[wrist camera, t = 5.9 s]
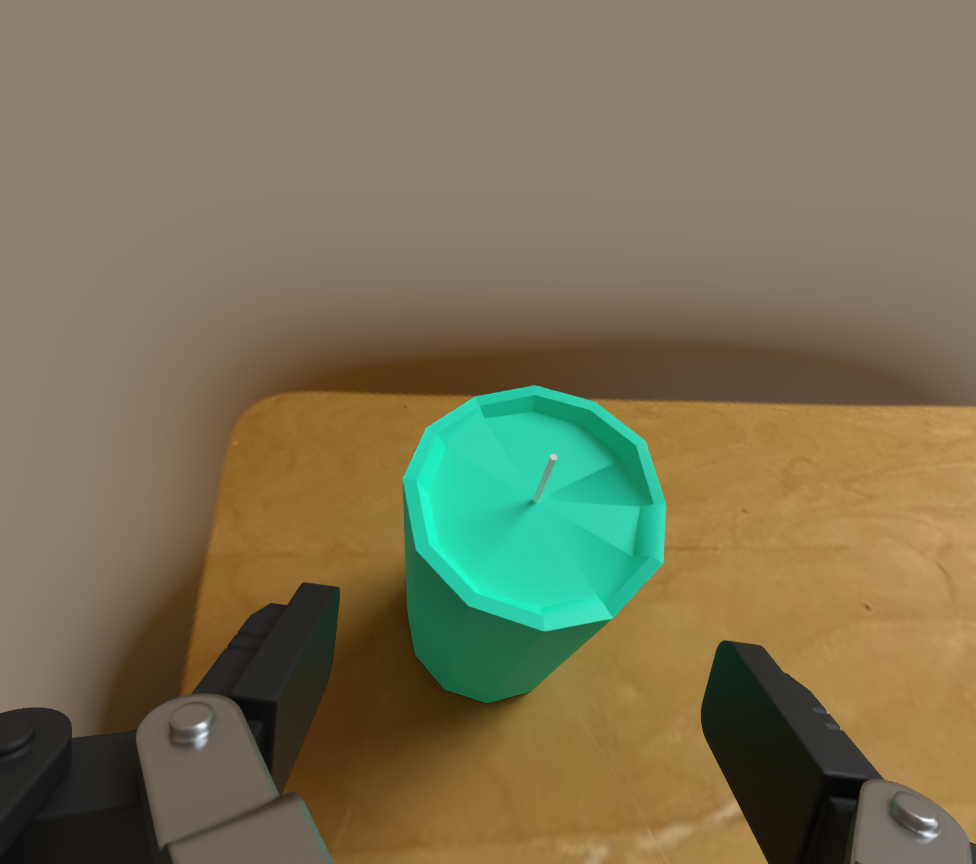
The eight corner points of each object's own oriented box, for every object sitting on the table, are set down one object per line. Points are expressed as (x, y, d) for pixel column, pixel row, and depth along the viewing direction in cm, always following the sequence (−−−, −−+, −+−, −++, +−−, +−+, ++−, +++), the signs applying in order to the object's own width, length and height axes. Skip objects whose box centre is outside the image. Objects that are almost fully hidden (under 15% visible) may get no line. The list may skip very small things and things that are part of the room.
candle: (399, 700, 20) (385, 602, 10) (414, 534, 23) (414, 330, 13) (572, 705, 20) (730, 617, 10) (562, 543, 23) (676, 352, 13)
